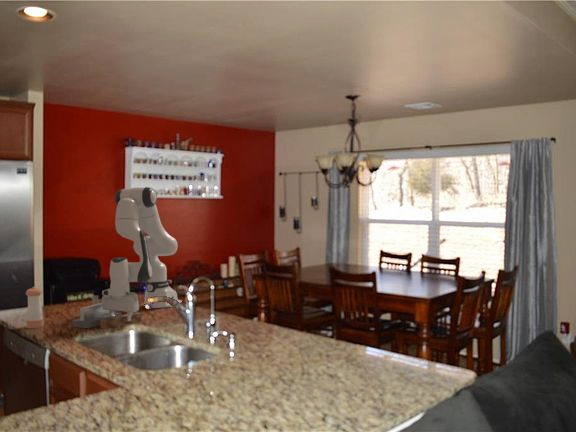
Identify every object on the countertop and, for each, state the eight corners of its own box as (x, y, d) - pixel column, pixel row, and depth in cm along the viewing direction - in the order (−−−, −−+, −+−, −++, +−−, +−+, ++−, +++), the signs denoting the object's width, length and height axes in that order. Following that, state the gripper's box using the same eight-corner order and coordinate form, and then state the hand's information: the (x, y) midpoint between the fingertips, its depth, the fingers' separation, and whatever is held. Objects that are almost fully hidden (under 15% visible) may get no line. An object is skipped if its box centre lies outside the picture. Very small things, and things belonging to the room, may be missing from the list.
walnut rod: (136, 320, 275) (136, 312, 274) (141, 321, 272) (141, 313, 272) (100, 328, 259) (100, 319, 259) (105, 329, 257) (104, 320, 257)
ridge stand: (106, 317, 281) (105, 299, 281) (121, 318, 277) (121, 300, 277) (72, 327, 262) (72, 308, 261) (88, 328, 257) (88, 309, 257)
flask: (93, 317, 282) (93, 297, 282) (85, 315, 286) (84, 296, 286) (106, 314, 288) (105, 295, 287) (97, 313, 292) (97, 294, 292)
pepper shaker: (46, 324, 267) (44, 285, 266) (38, 328, 260) (36, 288, 259) (32, 324, 268) (30, 285, 267) (23, 328, 261) (21, 288, 260)
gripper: (141, 291, 263) (142, 320, 264) (108, 289, 272) (109, 317, 273) (132, 293, 258) (133, 323, 258) (99, 291, 266) (100, 319, 267)
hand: (120, 320), depth 265 cm, fingers open, 8 cm apart
